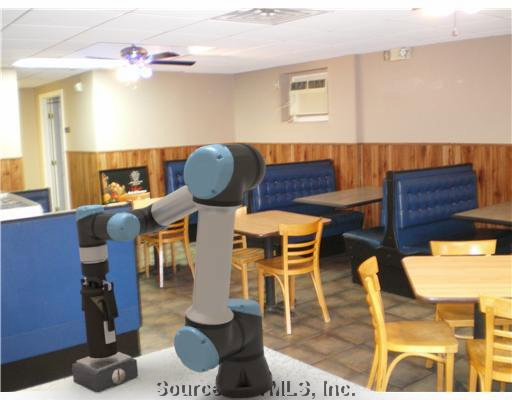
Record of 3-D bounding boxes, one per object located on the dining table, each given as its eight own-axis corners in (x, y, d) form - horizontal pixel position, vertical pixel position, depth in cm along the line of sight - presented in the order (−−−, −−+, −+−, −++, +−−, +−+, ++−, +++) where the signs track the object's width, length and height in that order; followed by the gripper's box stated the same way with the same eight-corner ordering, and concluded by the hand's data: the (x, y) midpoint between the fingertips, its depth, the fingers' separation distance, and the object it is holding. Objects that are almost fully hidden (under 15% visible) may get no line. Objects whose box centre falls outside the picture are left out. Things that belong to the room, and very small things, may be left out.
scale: (139, 377, 158) (137, 356, 158) (99, 393, 149) (96, 372, 148) (113, 366, 168) (111, 347, 167) (73, 381, 159) (71, 361, 158)
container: (111, 359, 153) (104, 288, 151) (80, 359, 155) (73, 289, 153) (124, 348, 161) (117, 280, 159) (95, 348, 163) (88, 281, 161)
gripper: (127, 261, 151) (134, 342, 153) (87, 254, 165) (94, 328, 168) (102, 266, 145) (110, 350, 148) (63, 259, 160) (71, 336, 162)
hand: (102, 339), depth 158 cm, fingers closed on container, 8 cm apart
